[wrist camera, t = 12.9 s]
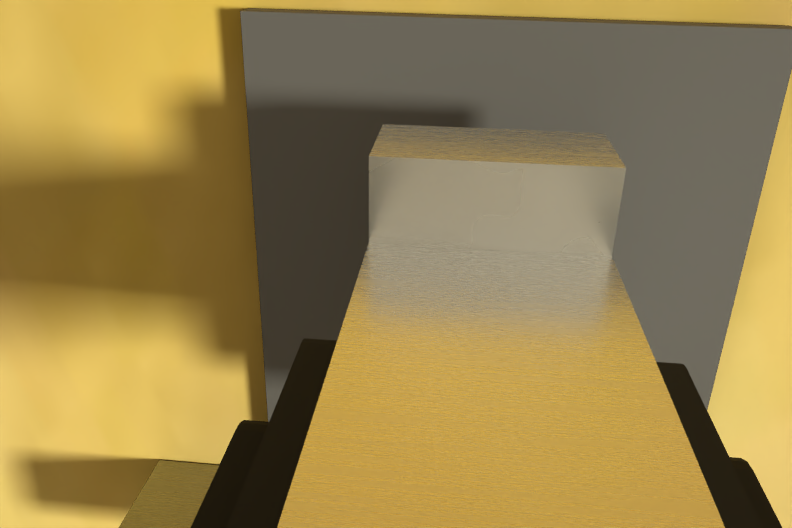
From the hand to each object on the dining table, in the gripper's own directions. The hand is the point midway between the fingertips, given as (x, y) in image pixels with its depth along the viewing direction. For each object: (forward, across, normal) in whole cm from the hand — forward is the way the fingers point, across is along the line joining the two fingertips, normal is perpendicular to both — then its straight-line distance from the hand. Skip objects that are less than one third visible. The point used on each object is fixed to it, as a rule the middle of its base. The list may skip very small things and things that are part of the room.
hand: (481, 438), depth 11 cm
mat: (+7, 0, 0) cm, 7 cm away
